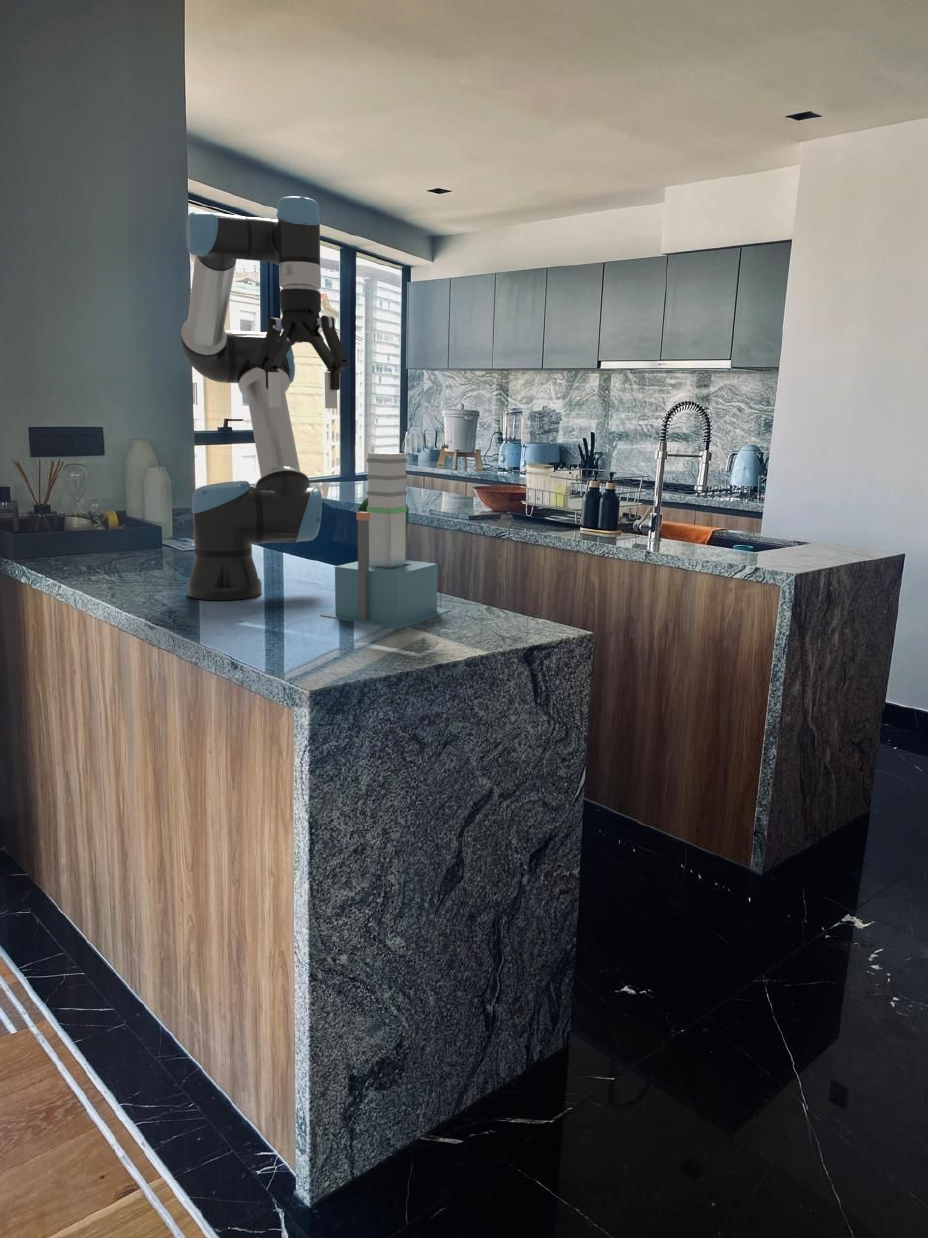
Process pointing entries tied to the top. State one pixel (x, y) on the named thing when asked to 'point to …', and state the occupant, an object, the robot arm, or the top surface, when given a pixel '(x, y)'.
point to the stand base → (384, 589)
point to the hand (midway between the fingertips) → (302, 408)
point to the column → (387, 509)
